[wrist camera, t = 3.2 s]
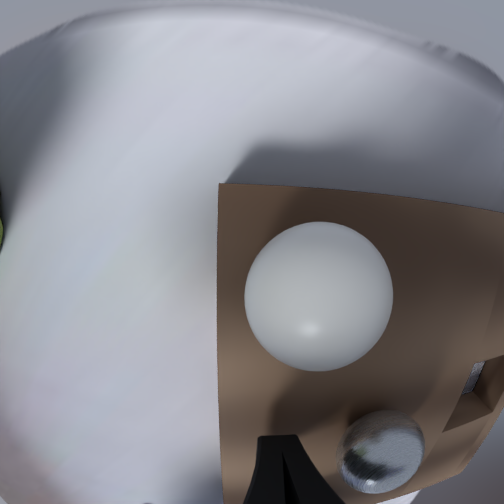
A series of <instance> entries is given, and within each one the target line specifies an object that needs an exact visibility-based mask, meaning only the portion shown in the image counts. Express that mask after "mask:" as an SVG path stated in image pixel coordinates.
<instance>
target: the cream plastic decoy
mask: <svg viewBox="0 0 504 504" xmlns="http://www.w3.org/2000/svg"><path fill="white" fill-rule="evenodd" d="M244 300H245V310H246V315H247V319H248V322H249V325H250V327H251V329H252V331H253V333H254V335H255V337H256V339H257V340H258V341H259V343H260V344H261V345H262V346H263V347H264V348H265V349H266V351H267V352H269V353H270V354H271V355H272V356H273V357H275V358H276V359H277V360H279V361H281V362H283V363H284V364H287V365H289V366H291V367H294V368H297V369H301V370H307V371H329V370H334V369H338V368H341V367H344V366H347V365H349V364H351V363H353V362H354V361H356V360H358V359H359V358H361V357H362V356H363V355H365V354H366V353H367V352H368V351H369V350H370V349H371V348H372V347H373V346H374V345H375V344H376V343H377V342H378V340H379V339H380V337H381V336H382V334H383V332H384V330H385V328H386V326H387V324H388V321H389V318H390V314H391V311H392V305H393V287H392V280H391V276H390V272H389V270H388V267H387V265H386V263H385V260H384V259H383V257H382V255H381V254H380V252H379V251H378V250H377V249H376V247H375V246H374V245H373V244H372V243H371V242H370V241H369V240H368V239H367V238H365V237H364V236H363V235H361V234H360V233H358V232H356V231H355V230H353V229H351V228H348V227H346V226H343V225H340V224H336V223H330V222H310V223H304V224H300V225H297V226H294V227H292V228H289V229H287V230H285V231H283V232H282V233H280V234H278V235H277V236H276V237H274V238H273V239H272V240H271V241H269V242H268V243H267V244H266V246H265V247H264V248H263V249H262V250H261V251H260V253H259V254H258V255H257V257H256V258H255V260H254V262H253V264H252V266H251V268H250V271H249V273H248V277H247V281H246V285H245V295H244Z"/></svg>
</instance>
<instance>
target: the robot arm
mask: <svg viewBox="0 0 504 504" xmlns="http://www.w3.org/2000/svg"><path fill="white" fill-rule="evenodd" d="M243 504H346V503H345V502H344V501H343V500H342V499H341V498H340V497H339V496H338V495H337V494H336V493H335V491H334V490H333V489H332V488H331V487H330V486H329V484H328V483H327V482H326V480H325V479H324V478H323V476H322V475H321V474H320V472H319V471H318V470H317V468H316V467H315V465H314V464H313V462H312V461H311V459H310V457H309V456H308V454H307V453H306V451H305V449H304V447H303V445H302V444H301V442H300V440H299V438H298V436H297V435H296V434H290V435H267V436H259V437H258V438H257V449H256V462H255V468H254V472H253V475H252V479H251V483H250V486H249V488H248V491H247V494H246V497H245V499H244V502H243Z"/></svg>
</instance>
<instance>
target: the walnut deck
mask: <svg viewBox="0 0 504 504" xmlns="http://www.w3.org/2000/svg"><path fill="white" fill-rule="evenodd" d="M310 222H330V223H336V224H340V225H343V226H346V227H348V228H351V229H353V230H355V231H356V232H358V233H360V234H361V235H363V236H364V237H365V238H367V239H368V240H369V241H370V242H371V243H372V244H373V245H374V246H375V247H376V249H377V250H378V251H379V252H380V254H381V255H382V257H383V259H384V260H385V263H386V265H387V267H388V270H389V272H390V276H391V280H392V287H393V305H392V311H391V314H390V318H389V321H388V324H387V326H386V328H385V330H384V332H383V334H382V336H381V337H380V339H379V340H378V342H377V343H376V344H375V345H374V346H373V347H372V348H371V349H370V350H369V351H368V352H367V353H366V354H365V355H363V356H362V357H361V358H359V359H358V360H356V361H354V362H353V363H351V364H349V365H347V366H344V367H341V368H338V369H334V370H329V371H307V370H301V369H297V368H294V367H291V366H289V365H287V364H284V363H283V362H281V361H279V360H277V359H276V358H275V357H273V356H272V355H271V354H270V353H269V352H267V351H266V349H265V348H264V347H263V346H262V345H261V344H260V343H259V341H258V340H257V339H256V337H255V335H254V333H253V331H252V329H251V327H250V325H249V322H248V319H247V315H246V310H245V300H244V295H245V285H246V281H247V277H248V273H249V271H250V268H251V266H252V264H253V262H254V260H255V258H256V257H257V255H258V254H259V253H260V251H261V250H262V249H263V248H264V247H265V246H266V244H267V243H268V242H269V241H271V240H272V239H273V238H274V237H276V236H277V235H278V234H280V233H282V232H283V231H285V230H287V229H289V228H292V227H294V226H297V225H300V224H304V223H310ZM485 360H486V362H485V364H484V367H483V369H482V372H481V374H480V376H479V379H478V381H477V383H476V386H475V388H474V390H473V392H470V393H467V394H464V395H461V394H462V391H463V389H464V387H465V385H466V382H467V380H468V378H469V375H470V373H471V370H472V368H473V365H474V364H475V363H478V362H482V361H485ZM217 365H218V403H219V430H220V452H221V471H222V487H223V502H224V504H243V502H244V499H245V497H246V494H247V491H248V488H249V486H250V483H251V479H252V475H253V472H254V468H255V462H256V449H257V438H258V437H259V436H267V435H290V434H296V435H297V436H298V438H299V440H300V442H301V444H302V445H303V447H304V449H305V451H306V453H307V454H308V456H309V457H310V459H311V461H312V462H313V464H314V465H315V467H316V468H317V470H318V471H319V472H320V474H321V475H322V476H323V478H324V479H325V480H326V482H327V483H328V484H329V486H330V487H331V488H332V489H333V490H334V491H335V493H336V494H337V495H338V496H339V497H340V498H341V499H342V500H343V501H344V502H345V503H346V504H376V503H380V502H383V501H387V500H390V499H394V498H397V497H400V496H403V495H406V494H409V493H412V492H415V491H418V490H420V489H423V488H425V487H428V486H431V485H433V484H436V483H438V482H441V481H443V480H445V479H448V478H450V477H452V476H454V475H457V474H459V473H461V472H462V471H463V469H464V468H465V467H466V465H467V464H468V463H469V461H470V460H471V459H472V457H473V456H474V454H475V453H476V451H477V450H478V448H479V447H480V446H481V444H482V442H483V441H484V439H485V438H486V436H487V435H488V433H489V432H490V430H491V428H492V427H493V425H494V423H495V422H496V420H497V418H498V416H499V415H500V413H501V411H502V409H503V407H504V213H501V212H496V211H491V210H485V209H480V208H474V207H469V206H463V205H457V204H451V203H444V202H438V201H431V200H424V199H417V198H410V197H402V196H394V195H385V194H377V193H367V192H357V191H347V190H336V189H323V188H310V187H295V186H277V185H256V184H224V183H219V191H218V231H217ZM380 410H394V411H399V412H402V413H405V414H407V415H408V416H410V417H411V418H413V419H414V420H415V421H416V422H417V423H418V424H419V426H420V427H421V429H422V431H423V434H424V438H425V453H424V457H423V460H422V462H421V465H420V466H419V468H418V470H417V471H416V472H415V474H414V475H413V476H412V477H411V478H410V479H409V480H408V481H407V482H405V483H404V484H403V485H401V486H399V487H398V488H396V489H393V490H391V491H388V492H384V493H375V494H371V493H364V492H361V491H358V490H355V489H353V488H352V487H350V486H349V485H348V484H347V483H346V482H345V481H344V480H343V479H342V478H341V476H340V474H339V472H338V470H337V466H336V450H337V446H338V443H339V441H340V439H341V437H342V435H343V434H344V432H345V431H346V430H347V428H348V427H349V426H350V425H351V424H353V423H354V422H355V421H356V420H358V419H359V418H361V417H362V416H364V415H366V414H369V413H372V412H375V411H380Z"/></svg>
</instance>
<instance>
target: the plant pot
mask: <svg viewBox="0 0 504 504" xmlns="http://www.w3.org/2000/svg"><path fill="white" fill-rule="evenodd" d="M2 233H3V225H2V222H1V219H0V246H1V241H2Z"/></svg>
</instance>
